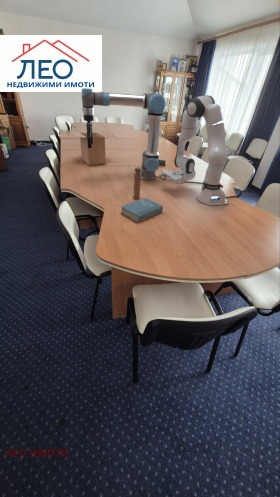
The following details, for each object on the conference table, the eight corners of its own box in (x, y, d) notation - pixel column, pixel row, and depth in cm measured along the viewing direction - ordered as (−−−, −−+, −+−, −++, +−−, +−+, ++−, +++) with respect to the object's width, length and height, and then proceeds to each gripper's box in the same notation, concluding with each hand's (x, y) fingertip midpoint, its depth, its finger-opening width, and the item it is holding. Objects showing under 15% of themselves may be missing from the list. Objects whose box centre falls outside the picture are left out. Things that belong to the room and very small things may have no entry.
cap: (136, 171, 152) (136, 169, 152) (134, 170, 156) (134, 167, 155) (141, 171, 154) (142, 169, 153) (139, 169, 157) (139, 167, 156)
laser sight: (164, 167, 234) (165, 157, 228) (143, 164, 237) (144, 155, 231) (165, 164, 242) (166, 155, 236) (145, 162, 245) (146, 153, 239)
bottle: (134, 199, 164) (136, 170, 151) (132, 196, 168) (133, 168, 155) (140, 198, 166) (142, 169, 153) (138, 196, 169) (140, 167, 156)
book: (145, 204, 158) (145, 197, 155) (162, 212, 149) (163, 206, 146) (121, 213, 145) (121, 206, 142) (138, 223, 136) (138, 216, 133)
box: (116, 165, 229) (116, 136, 213) (83, 168, 214) (80, 137, 198) (102, 154, 259) (101, 128, 243) (71, 156, 244) (68, 129, 228)
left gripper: (84, 112, 170) (87, 142, 182) (81, 116, 150) (84, 149, 163) (94, 112, 171) (96, 142, 183) (92, 116, 151) (94, 149, 163)
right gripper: (170, 167, 180) (156, 169, 174) (186, 176, 166) (171, 178, 160) (169, 175, 183) (155, 177, 178) (184, 184, 170) (169, 186, 164)
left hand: (90, 146), depth 173 cm, fingers open, 13 cm apart
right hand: (162, 177), depth 169 cm, fingers open, 8 cm apart
